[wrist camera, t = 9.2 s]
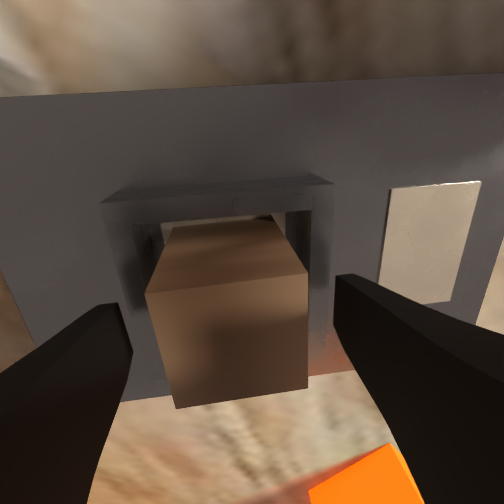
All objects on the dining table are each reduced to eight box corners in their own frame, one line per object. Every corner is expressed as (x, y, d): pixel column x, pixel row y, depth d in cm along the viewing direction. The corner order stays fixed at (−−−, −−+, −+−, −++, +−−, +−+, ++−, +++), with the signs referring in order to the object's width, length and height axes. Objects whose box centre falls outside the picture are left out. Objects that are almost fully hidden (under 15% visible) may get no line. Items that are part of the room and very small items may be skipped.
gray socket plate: (525, 75, 12) (627, 57, 9) (449, 340, 18) (496, 383, 15) (-46, 104, 10) (-154, 94, 7) (75, 389, 16) (43, 449, 13)
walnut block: (272, 215, 12) (307, 272, 7) (276, 298, 13) (308, 388, 9) (172, 227, 11) (144, 293, 7) (190, 310, 13) (175, 408, 8)
